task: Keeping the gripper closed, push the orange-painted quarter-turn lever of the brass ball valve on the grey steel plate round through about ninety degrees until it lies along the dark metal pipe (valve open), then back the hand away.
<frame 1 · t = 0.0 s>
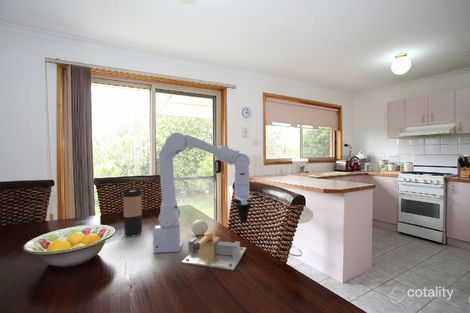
hand: (242, 219, 89), 10 cm above the table, tool pointing down, fingers open, 7 cm apart
travel mug: (133, 234, 105), on the table
pipe valve: (209, 253, 82), resting on mounting plate
baseball: (200, 235, 102), on the table
lever: (203, 240, 78), point 6 cm above the table, hinge at 0.0°
mounting plate: (215, 255, 80), on the table
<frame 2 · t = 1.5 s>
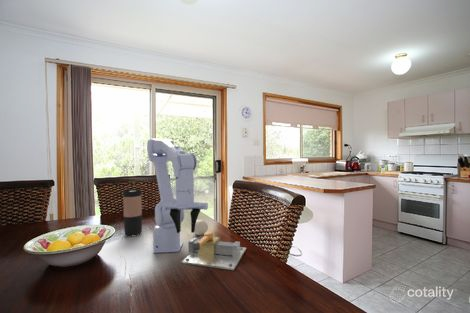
hand: (185, 231, 75), 10 cm above the table, tool pointing down, fingers open, 4 cm apart
nothing on the table moved.
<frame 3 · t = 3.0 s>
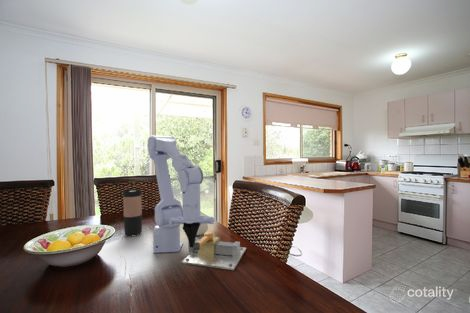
hand: (192, 245, 75), 6 cm above the table, tool pointing down, fingers closed
lever: (203, 240, 78), point 6 cm above the table, hinge at 0.0°, touching gripper
everything else where it was.
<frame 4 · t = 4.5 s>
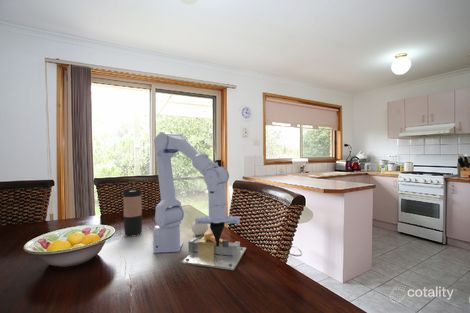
hand: (218, 245, 75), 6 cm above the table, tool pointing down, fingers closed, pressing on lever
lever: (216, 239, 79), point 6 cm above the table, hinge at 57.1°, touching gripper
everything else where it was.
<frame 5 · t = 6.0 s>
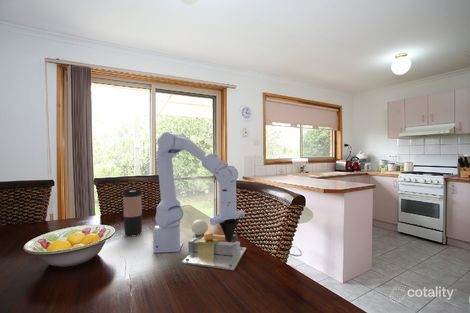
hand: (228, 241, 78), 6 cm above the table, tool pointing down, fingers closed
lever: (220, 237, 81), point 6 cm above the table, hinge at 89.6°, touching gripper
everything else where it was.
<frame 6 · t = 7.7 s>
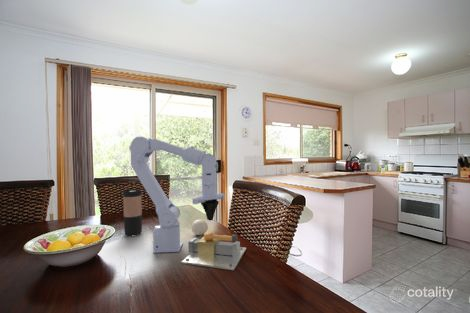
hand: (210, 219, 88), 10 cm above the table, tool pointing down, fingers closed
lever: (220, 236, 81), point 6 cm above the table, hinge at 89.8°
everything else where it was.
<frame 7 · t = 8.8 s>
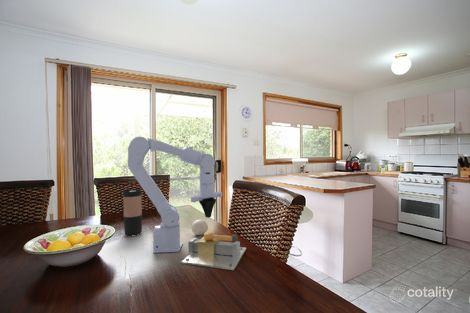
hand: (208, 216, 92), 10 cm above the table, tool pointing down, fingers closed
nothing on the table moved.
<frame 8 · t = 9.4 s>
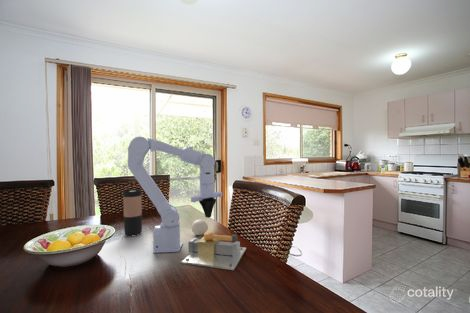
hand: (208, 216, 92), 10 cm above the table, tool pointing down, fingers closed
nothing on the table moved.
at the end: lever at +90° (first picture: +0°); the gripper is holding nothing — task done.
